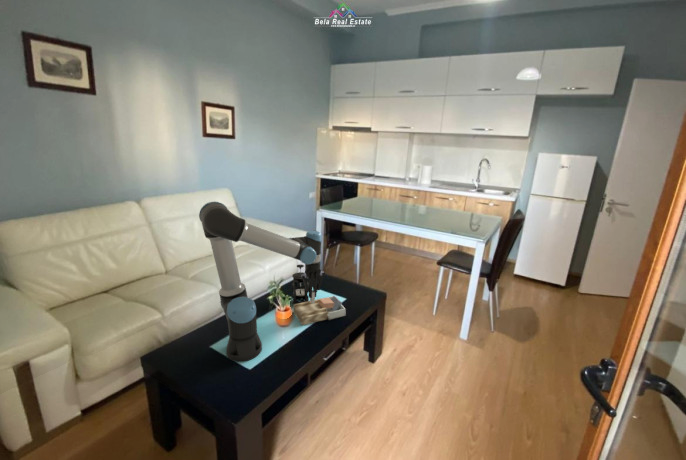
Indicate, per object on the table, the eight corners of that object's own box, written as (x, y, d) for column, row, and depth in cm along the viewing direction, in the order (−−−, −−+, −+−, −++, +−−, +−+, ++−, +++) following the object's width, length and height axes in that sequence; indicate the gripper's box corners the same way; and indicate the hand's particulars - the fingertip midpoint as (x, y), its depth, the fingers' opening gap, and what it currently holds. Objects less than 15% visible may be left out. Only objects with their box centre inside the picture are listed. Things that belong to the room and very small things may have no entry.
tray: (328, 319, 167) (328, 313, 166) (317, 305, 181) (317, 299, 180) (345, 315, 172) (346, 309, 170) (333, 302, 185) (333, 296, 184)
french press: (313, 302, 184) (313, 265, 178) (300, 308, 177) (300, 270, 171) (299, 295, 192) (298, 260, 185) (287, 301, 185) (286, 264, 178)
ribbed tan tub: (302, 325, 162) (302, 315, 160) (293, 312, 174) (293, 303, 172) (327, 319, 168) (327, 309, 166) (317, 306, 180) (317, 297, 178)
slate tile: (338, 300, 173) (342, 302, 175) (333, 295, 178) (337, 298, 180) (331, 309, 173) (335, 311, 174) (327, 304, 178) (330, 306, 179)
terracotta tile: (322, 308, 170) (323, 303, 169) (318, 303, 175) (319, 298, 174) (333, 307, 173) (333, 302, 172) (328, 302, 178) (329, 297, 177)
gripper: (303, 265, 157) (303, 308, 163) (327, 261, 163) (326, 303, 169) (298, 260, 163) (298, 301, 169) (322, 257, 169) (320, 297, 175)
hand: (312, 302), depth 169 cm, fingers closed
